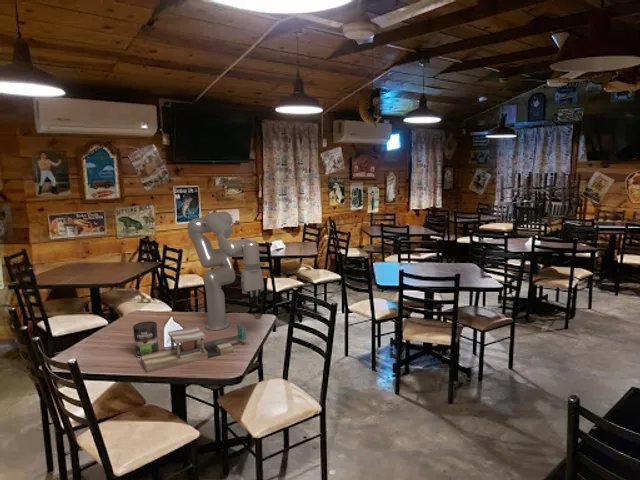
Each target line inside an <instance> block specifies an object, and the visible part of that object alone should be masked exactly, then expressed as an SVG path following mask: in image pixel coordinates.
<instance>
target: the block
mask: <svg viewBox="0 0 640 480" xmlns="http://www.w3.org/2000/svg"><path fill="white" fill-rule="evenodd" d="M179 345H181V351H185V350H190V349H194V348H195V347H194V340H193V341H188V342H183V343H179Z"/></svg>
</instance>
